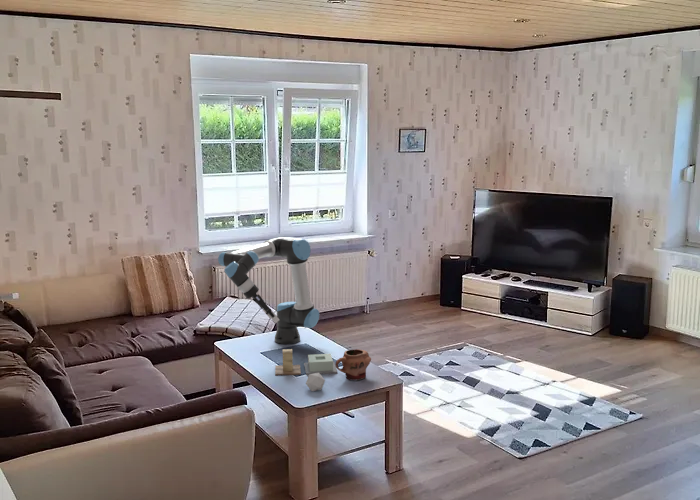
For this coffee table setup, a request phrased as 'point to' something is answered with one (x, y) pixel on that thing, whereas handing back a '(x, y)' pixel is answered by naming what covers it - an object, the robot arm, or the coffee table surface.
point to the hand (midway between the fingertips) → (274, 319)
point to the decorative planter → (354, 364)
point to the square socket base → (320, 364)
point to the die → (315, 382)
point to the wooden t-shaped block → (287, 365)
